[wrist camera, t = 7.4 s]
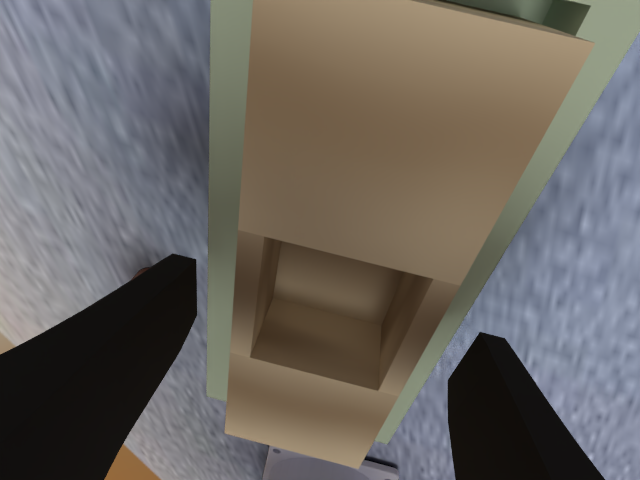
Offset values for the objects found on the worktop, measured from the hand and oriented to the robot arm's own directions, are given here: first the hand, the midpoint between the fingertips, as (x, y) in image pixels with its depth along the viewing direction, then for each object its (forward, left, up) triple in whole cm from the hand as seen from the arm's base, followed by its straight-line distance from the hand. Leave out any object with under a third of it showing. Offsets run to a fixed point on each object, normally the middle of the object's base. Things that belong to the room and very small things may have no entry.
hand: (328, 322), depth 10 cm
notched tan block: (0, 0, -4) cm, 4 cm away
